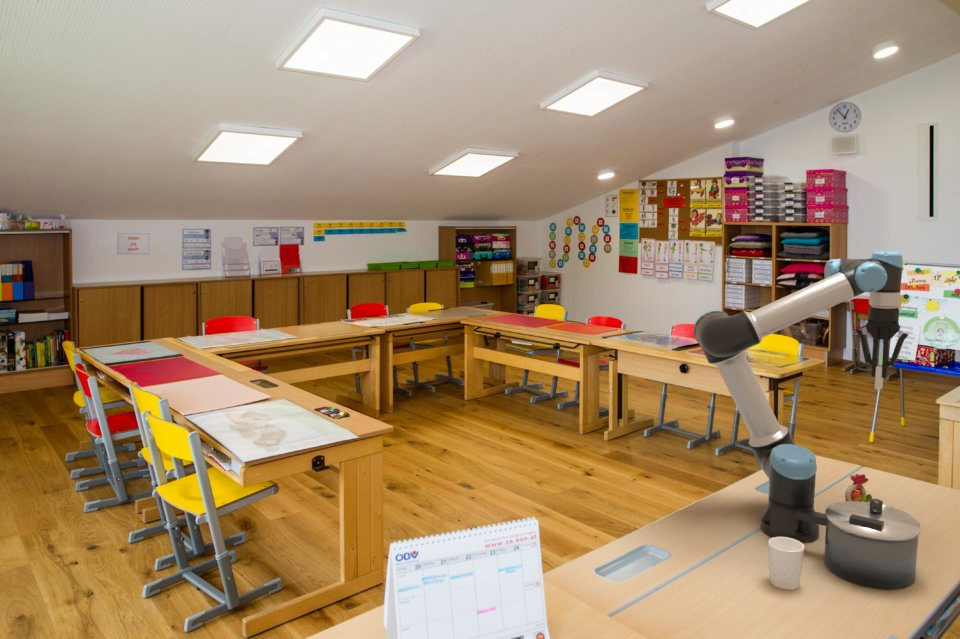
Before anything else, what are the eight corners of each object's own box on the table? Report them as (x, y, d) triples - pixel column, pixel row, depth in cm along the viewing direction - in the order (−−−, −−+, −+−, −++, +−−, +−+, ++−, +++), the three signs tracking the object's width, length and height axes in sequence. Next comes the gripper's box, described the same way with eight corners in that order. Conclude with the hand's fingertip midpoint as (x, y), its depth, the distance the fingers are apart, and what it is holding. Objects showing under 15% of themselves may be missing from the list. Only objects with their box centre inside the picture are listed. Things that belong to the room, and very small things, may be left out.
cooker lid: (815, 526, 175) (815, 509, 174) (838, 499, 191) (839, 483, 190) (911, 550, 162) (912, 532, 161) (927, 519, 178) (928, 502, 177)
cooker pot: (782, 562, 181) (785, 518, 180) (806, 535, 197) (808, 494, 195) (906, 598, 164) (910, 549, 162) (921, 565, 179) (925, 520, 177)
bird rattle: (862, 520, 211) (881, 503, 214) (853, 489, 207) (873, 473, 210) (843, 512, 216) (863, 496, 219) (834, 482, 213) (854, 466, 216)
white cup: (786, 594, 166) (788, 554, 165) (759, 579, 173) (761, 541, 172) (809, 586, 170) (811, 546, 169) (781, 571, 177) (783, 534, 176)
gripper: (913, 306, 198) (907, 389, 202) (861, 303, 207) (856, 382, 210) (908, 309, 193) (901, 394, 196) (855, 306, 201) (850, 387, 204)
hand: (878, 388), depth 203 cm, fingers closed
